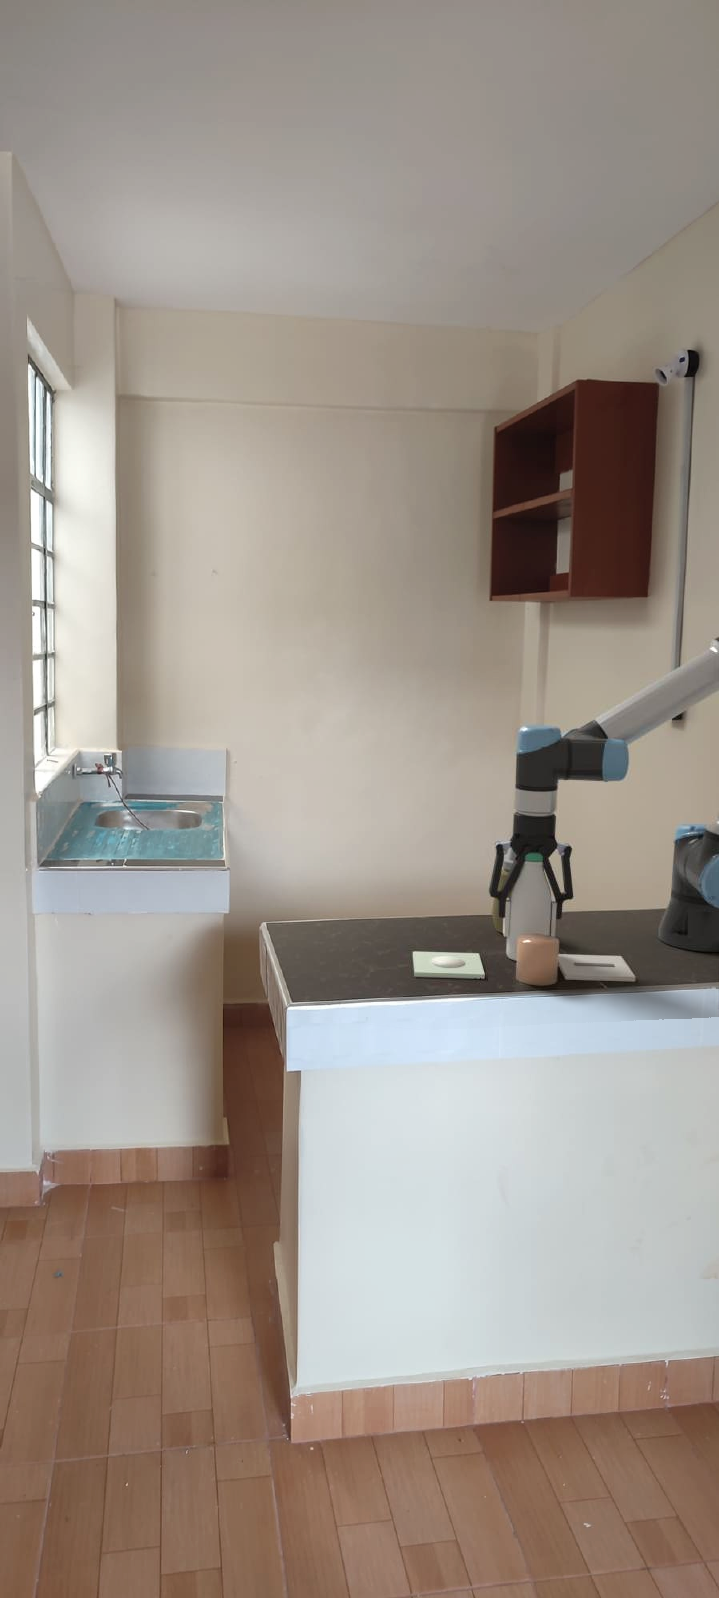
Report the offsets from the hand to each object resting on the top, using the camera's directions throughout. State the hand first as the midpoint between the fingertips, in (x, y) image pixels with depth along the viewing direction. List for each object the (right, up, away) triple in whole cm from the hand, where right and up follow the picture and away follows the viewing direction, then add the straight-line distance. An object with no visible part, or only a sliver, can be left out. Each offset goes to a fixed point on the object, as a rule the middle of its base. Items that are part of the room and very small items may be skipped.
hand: (528, 935), depth 207 cm
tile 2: (+11, -5, -5) cm, 13 cm away
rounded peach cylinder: (0, -6, -11) cm, 13 cm away
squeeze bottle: (-1, -2, +18) cm, 18 cm away
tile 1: (-15, -5, -6) cm, 17 cm away
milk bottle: (0, -4, +1) cm, 4 cm away
